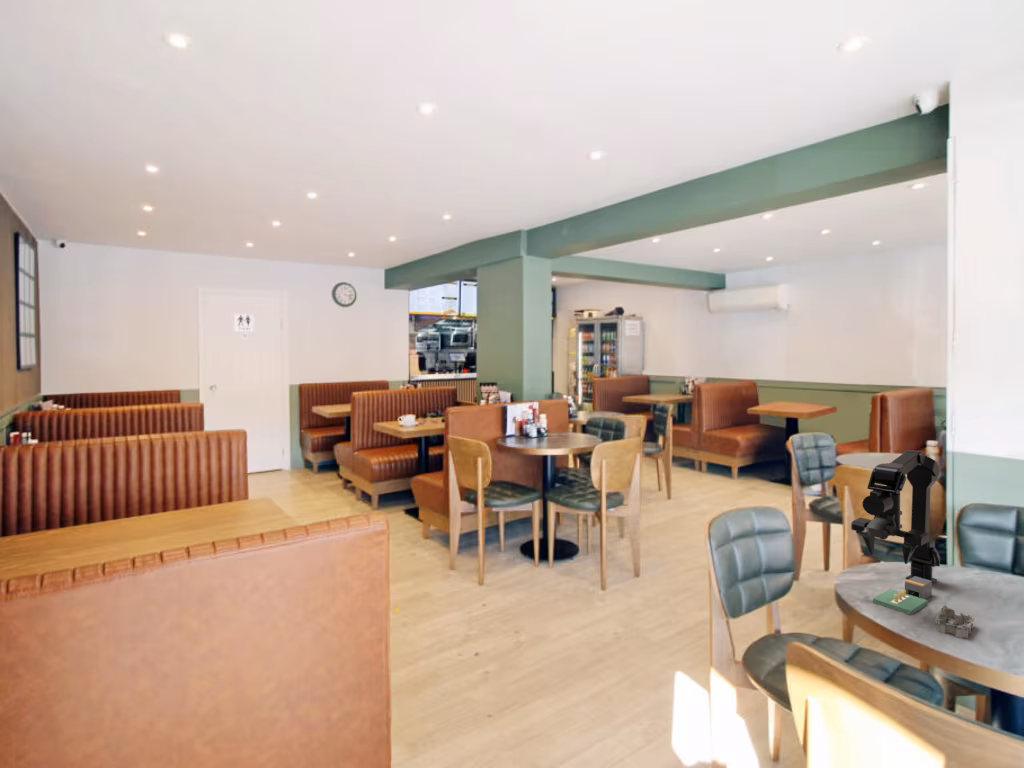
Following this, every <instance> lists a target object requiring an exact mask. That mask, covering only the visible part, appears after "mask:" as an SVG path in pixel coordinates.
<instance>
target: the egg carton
mask: <svg viewBox="0 0 1024 768" xmlns="http://www.w3.org/2000/svg"><path fill="white" fill-rule="evenodd" d="M976 618H977V617H976V616H971V615H969V614H968V615H967V614H966V615H965V614H964V613H962V612H960V614H957V613H956V612H955V610H954V609H952V608H949V607H947V605H946V604H944V605H943V606H942V607H941V609H940V611H939V612H938V614H937V615H936V617H935V622H934V623H935V624H936V626H935V627H936V630H937V631H939V632H940V633H943V634H947V633H949V634H952V635H955V637H957V638H966V639H967V638H969V634H971V631H972V629H974V623H975V621H976ZM947 620H948V621H947ZM960 624H963V626H961V625H960Z"/></svg>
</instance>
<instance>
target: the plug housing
mask: <svg viewBox="0 0 1024 768" xmlns="http://www.w3.org/2000/svg"><path fill="white" fill-rule="evenodd" d="M904 590H906V594H909V595H913V594H915V593H918V598H922V599H925V600H927V599H928V598H929V596H930V597H931V596H932V595H933V583H932V581H931V580H927V579H923V578H920V577H916V576H914V577H912V578H911V579H909V580H908V579H906V580H905V581H904ZM914 592H915V593H914Z"/></svg>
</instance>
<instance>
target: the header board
mask: <svg viewBox="0 0 1024 768" xmlns="http://www.w3.org/2000/svg"><path fill="white" fill-rule="evenodd" d="M872 603H874V604H876V605H880V606H883V607H886V608H889V609H892V610H895V611H898V612H900V611H901V613H904V614H907V615H913V614H914V613H916V612H918V611H919V610H921V609H922V608H924V607H925V606H927V605H928V600H927V599H922V598H919V596H916V595H913V594H911V595H909V594H906V590H905V588H902V589H901V591H898V590H896V589H893V588H888V589H887V590H885V591H883V592H881V593H880V594H878V595H876V596H874V597H873V598H872Z"/></svg>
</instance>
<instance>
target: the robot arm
mask: <svg viewBox="0 0 1024 768" xmlns="http://www.w3.org/2000/svg"><path fill="white" fill-rule="evenodd" d="M939 475H940V466H939V464H938V462H937V461H936V460H935V459H933V458H931V457H929V456H928V455H926V454H925V452H923V451H921V450H914V449H912V450H911V449H906V450H903V452H902V454H900V455H899V456H898V457H896V458H895V459H894V460H892V461H891V462H889V463H888V462H887V463H879V464H877V465H876V466H875V467H874V468H873V469H872V472H871V475H870V478H869V480H868V485H867V488H866V489H867V490H871V491H870V492H869V495H867V496H866V497H864V499H863V500H862V502H861V503H862V509H864V511H865V512H866V513H867V514H869V515H871V516H873V519H870V518H864V517H859V518H856V519H854V520H852V522H851V525H850V529H851V531H855V533H856V534H859V536H861V537H862V539H863V540H864V542H865V545H866V547H867V550H868V552H869V554H870V555H871V556H872V555H874V552H875V538H878V539H880V540H886V539H888V537H890V536H892V537H895V536H896V537H900V538H903V542H902V548H901V549H902V556H903V560H904V564H905V565H908V563H909V562H910V574H909V575H908V576H906V577H905V579H906V580H909V579H911V578H912V577H914V576H916V577H920V578H923V579H927V580H931V581H932V584H934V583H936V582H937V580H938V579H937V578H935V577H933V568H935V567H940V566H941V563H940V562H941V556H940V554H939V552H938V550H937V548H936V541H935V540H934V538H933V536H932V535H931V533H930V508H931V488H932V487H933V485H934V484H935V483H936V482H937V481H938V477H939ZM906 480H907V481H908V482H909V484H910V485H911V486H912V493H911V516H910V517H911V520H910V521H911V522H910V530H909V531H905V530H901V529H902V528H903V524H901V516H902V515H903V511H902V510H901V492H902V491H903V489H904V487H905V483H906Z"/></svg>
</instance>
